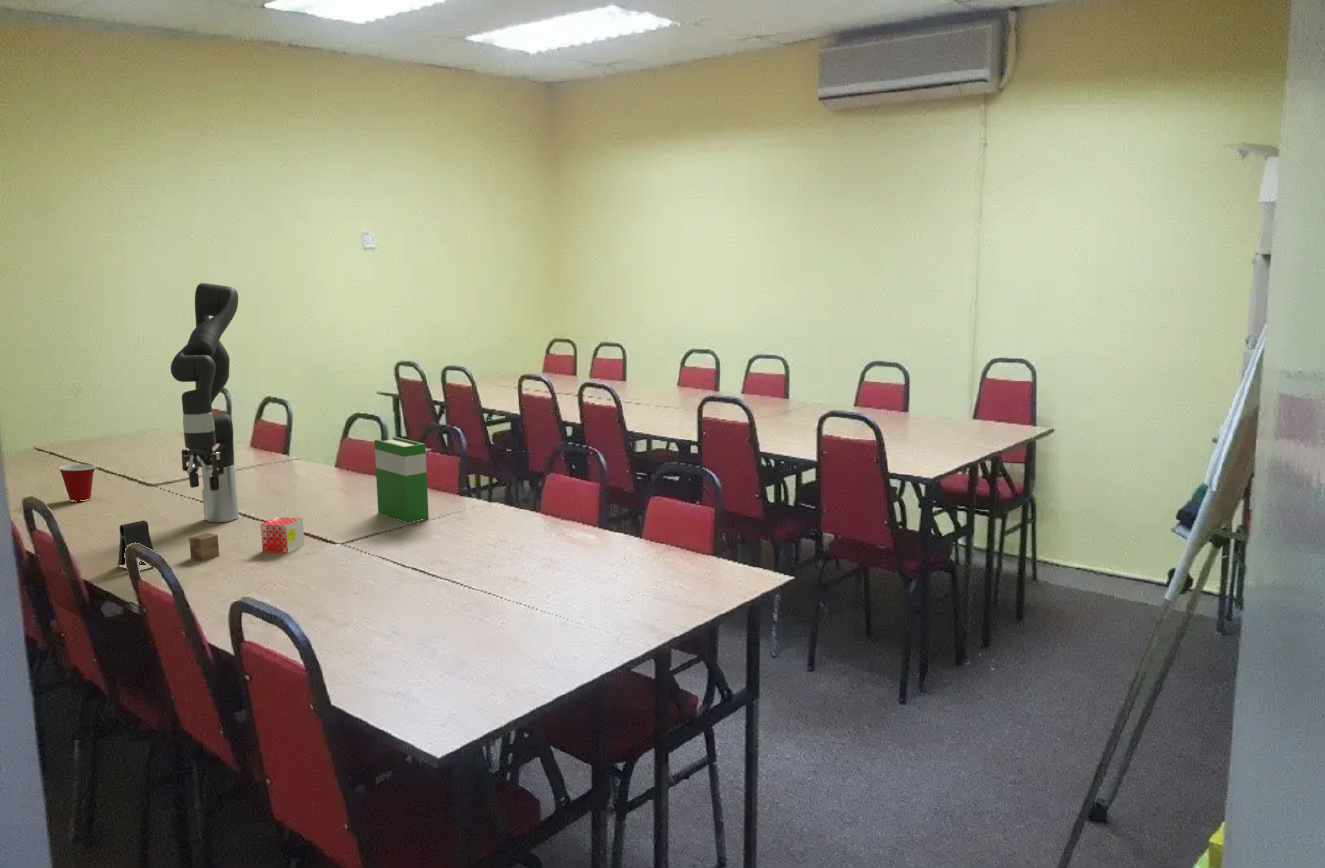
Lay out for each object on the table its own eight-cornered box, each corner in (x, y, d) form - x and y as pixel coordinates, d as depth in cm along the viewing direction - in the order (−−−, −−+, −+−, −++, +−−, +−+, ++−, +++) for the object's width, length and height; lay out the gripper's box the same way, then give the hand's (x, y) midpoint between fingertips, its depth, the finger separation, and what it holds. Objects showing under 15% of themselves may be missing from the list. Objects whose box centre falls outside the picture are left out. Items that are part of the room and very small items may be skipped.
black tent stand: (157, 567, 248) (153, 523, 246) (133, 573, 243) (129, 528, 241) (141, 560, 254) (137, 517, 251) (118, 566, 249) (113, 522, 247)
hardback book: (378, 513, 303) (374, 439, 298) (398, 508, 308) (395, 436, 304) (407, 523, 291) (404, 447, 286) (428, 518, 296) (425, 443, 292)
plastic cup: (106, 499, 320) (102, 464, 318) (72, 505, 311) (68, 470, 309) (89, 495, 326) (85, 461, 324) (56, 501, 317) (52, 466, 315)
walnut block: (190, 558, 256) (189, 537, 255) (207, 553, 260) (205, 532, 259) (202, 561, 254) (201, 539, 253) (219, 556, 258) (217, 534, 257)
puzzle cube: (288, 553, 261) (286, 525, 259) (262, 551, 262) (260, 524, 261) (304, 545, 268) (302, 518, 267) (279, 543, 270) (277, 516, 268)
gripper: (169, 429, 252) (175, 488, 255) (203, 433, 246) (209, 494, 248) (195, 425, 259) (200, 483, 262) (228, 429, 252) (234, 488, 255)
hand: (204, 488), depth 255 cm, fingers open, 8 cm apart
